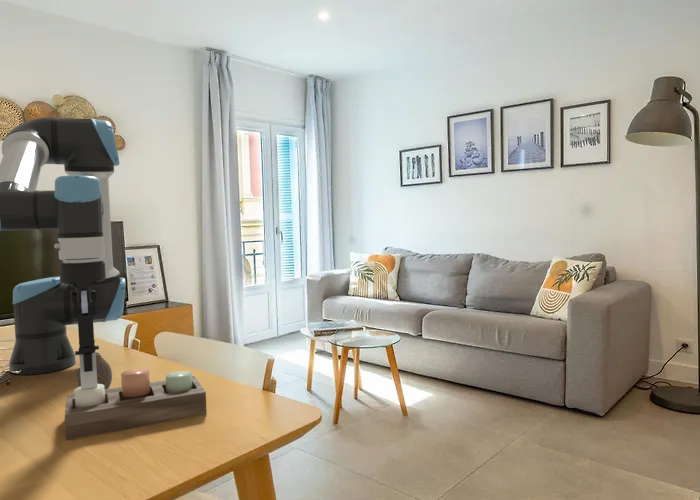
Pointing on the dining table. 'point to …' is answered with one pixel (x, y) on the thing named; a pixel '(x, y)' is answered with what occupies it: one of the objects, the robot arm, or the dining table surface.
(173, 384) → the button sage
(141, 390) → the button terracotta
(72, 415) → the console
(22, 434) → the dining table surface
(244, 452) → the dining table surface
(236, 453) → the dining table surface
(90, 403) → the button cream
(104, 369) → the vase
